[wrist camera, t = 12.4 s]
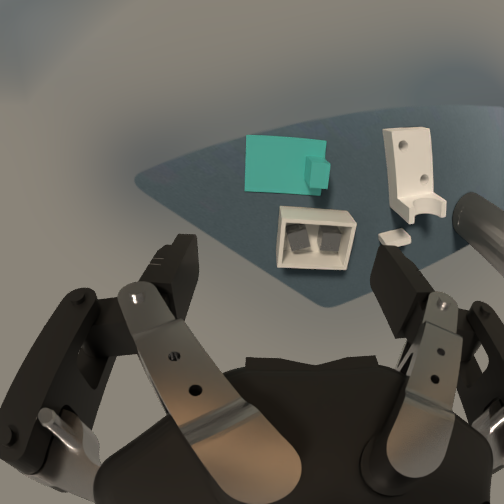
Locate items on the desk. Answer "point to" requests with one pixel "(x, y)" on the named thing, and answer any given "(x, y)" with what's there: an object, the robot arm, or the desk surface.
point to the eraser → (395, 237)
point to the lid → (286, 165)
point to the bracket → (411, 173)
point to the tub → (314, 238)
